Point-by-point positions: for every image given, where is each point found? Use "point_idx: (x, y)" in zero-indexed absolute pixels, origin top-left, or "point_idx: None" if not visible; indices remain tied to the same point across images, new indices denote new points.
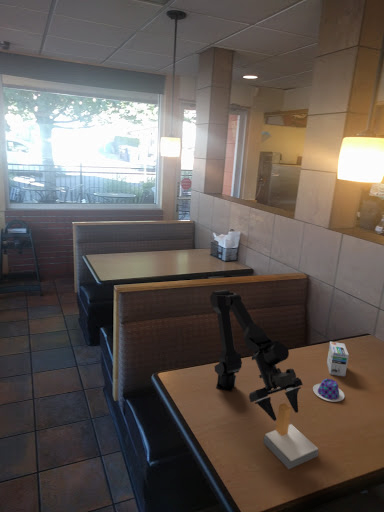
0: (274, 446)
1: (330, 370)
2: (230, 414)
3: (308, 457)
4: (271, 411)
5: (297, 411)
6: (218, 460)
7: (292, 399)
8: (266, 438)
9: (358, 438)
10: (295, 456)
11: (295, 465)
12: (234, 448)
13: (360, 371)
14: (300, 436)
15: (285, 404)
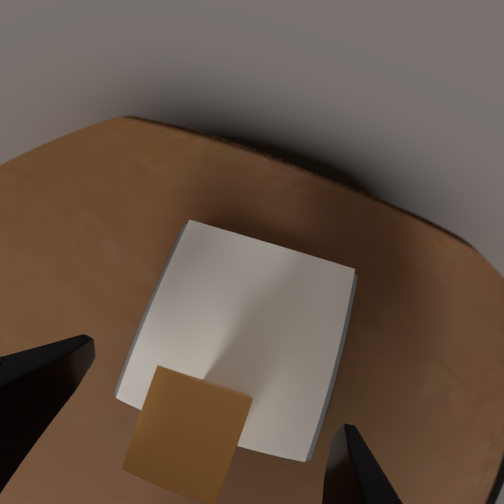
0: (331, 382)
1: None
2: None
3: None
4: (388, 486)
5: (89, 338)
6: (485, 463)
7: (14, 410)
8: (314, 444)
9: (29, 188)
10: (320, 267)
11: None
12: (418, 488)
13: None
14: (170, 315)
15: (139, 453)
